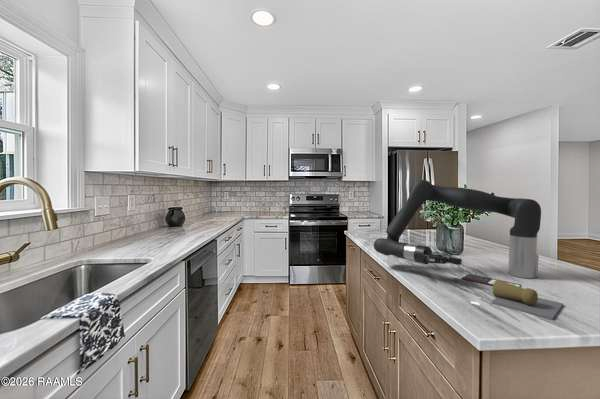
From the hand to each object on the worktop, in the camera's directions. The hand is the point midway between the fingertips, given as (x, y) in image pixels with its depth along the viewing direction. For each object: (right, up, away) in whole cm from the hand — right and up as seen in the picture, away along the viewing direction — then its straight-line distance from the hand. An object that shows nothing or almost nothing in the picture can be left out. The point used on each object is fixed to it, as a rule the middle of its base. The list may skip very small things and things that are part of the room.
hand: (460, 262), depth 107 cm
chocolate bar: (+15, -10, +6) cm, 19 cm away
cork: (+7, -7, -9) cm, 14 cm away
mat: (+13, -10, -15) cm, 23 cm away
